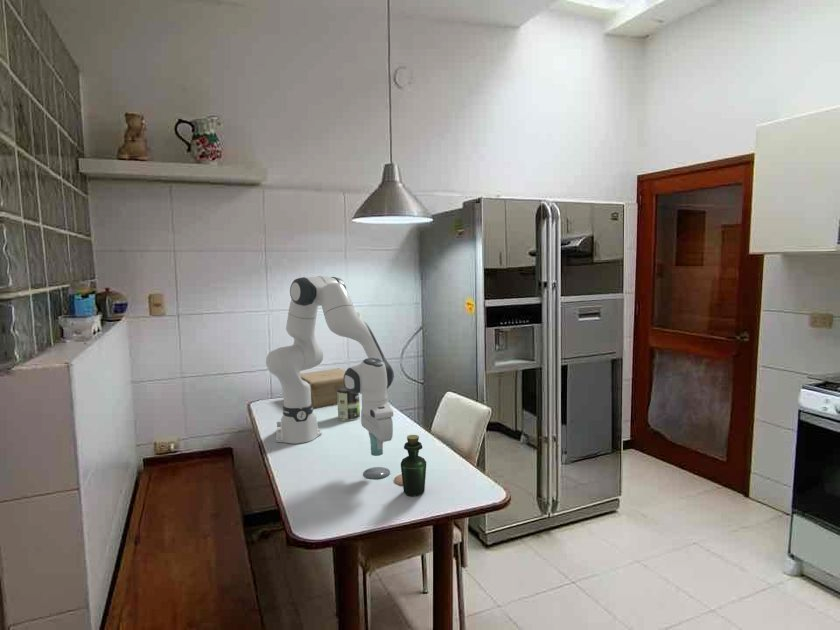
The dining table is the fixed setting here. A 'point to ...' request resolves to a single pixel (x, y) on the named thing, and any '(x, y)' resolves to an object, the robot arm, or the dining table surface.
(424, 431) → the dining table surface
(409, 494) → the potion bottle
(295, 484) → the dining table surface
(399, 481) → the tan round disc
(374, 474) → the grey flat disc
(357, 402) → the coffee can
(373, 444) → the marker peg
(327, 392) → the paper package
